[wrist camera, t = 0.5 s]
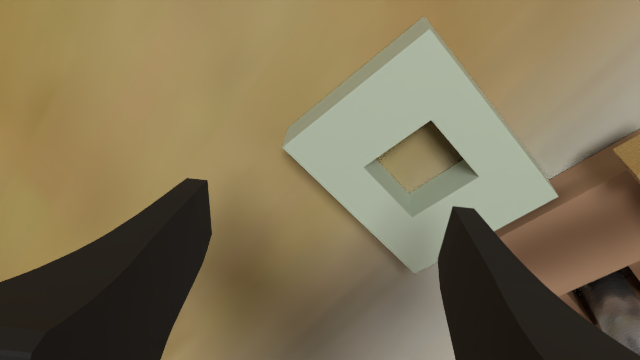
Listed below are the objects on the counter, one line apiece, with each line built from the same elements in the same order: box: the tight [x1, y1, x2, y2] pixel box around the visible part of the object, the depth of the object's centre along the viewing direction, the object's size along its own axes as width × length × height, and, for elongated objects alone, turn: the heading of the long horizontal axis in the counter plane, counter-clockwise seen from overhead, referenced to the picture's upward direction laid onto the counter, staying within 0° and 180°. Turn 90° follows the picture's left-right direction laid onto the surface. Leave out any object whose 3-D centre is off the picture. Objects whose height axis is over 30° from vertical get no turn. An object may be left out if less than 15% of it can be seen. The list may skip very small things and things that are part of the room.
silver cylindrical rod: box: [580, 269, 640, 355], centre depth 23 cm, size 2×2×7 cm
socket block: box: [494, 129, 640, 330], centre depth 23 cm, size 10×9×2 cm
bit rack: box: [282, 16, 559, 274], centre depth 22 cm, size 10×8×2 cm
